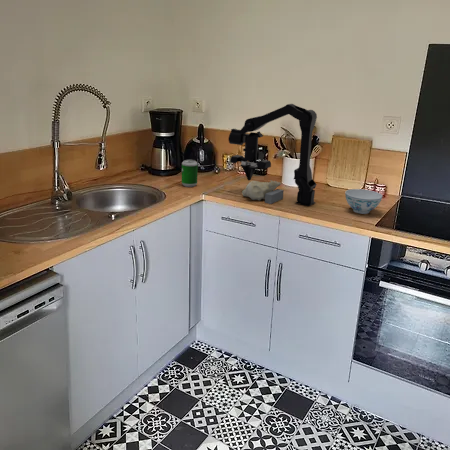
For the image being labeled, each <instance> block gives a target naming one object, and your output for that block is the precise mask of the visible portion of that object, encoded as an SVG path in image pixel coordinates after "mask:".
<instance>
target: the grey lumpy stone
mask: <svg viewBox="0 0 450 450" xmlns="http://www.w3.org/2000/svg"><path fill="white" fill-rule="evenodd" d="M281 185H282V184H281V182H280V181H277V180H272V179H270V181H269V182H268V181H259V180H252V181H251V180H250V181H249V182H248V184H247V185H246V186H245V188H244V189H243V190H242V192H241V194H242V195H243V196H244V197H248V198H250V199H251V200H253V201H256V200H257V201H261V200H265V194H266V193H269V192H271V191H274V190H276V189H278V188H277V187H280V186H281Z"/></svg>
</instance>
